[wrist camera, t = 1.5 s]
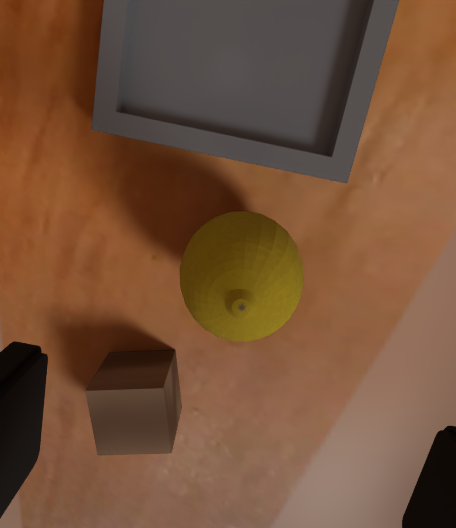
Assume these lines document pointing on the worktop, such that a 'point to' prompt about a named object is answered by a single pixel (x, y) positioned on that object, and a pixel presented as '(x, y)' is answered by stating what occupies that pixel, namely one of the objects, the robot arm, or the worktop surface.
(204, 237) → the lemon
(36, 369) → the robot arm
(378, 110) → the worktop surface
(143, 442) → the metal cube
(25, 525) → the worktop surface
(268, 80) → the dish
